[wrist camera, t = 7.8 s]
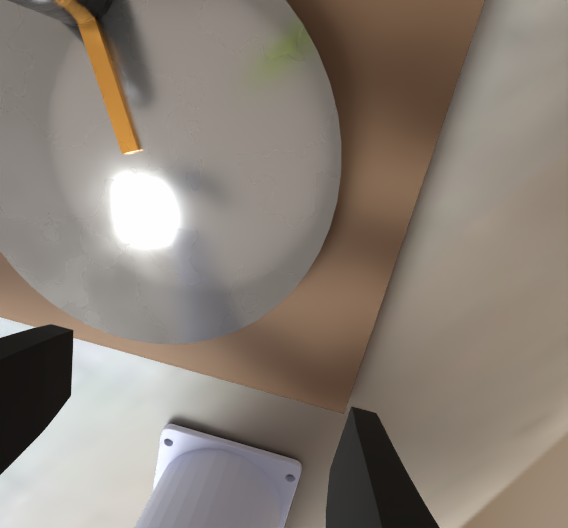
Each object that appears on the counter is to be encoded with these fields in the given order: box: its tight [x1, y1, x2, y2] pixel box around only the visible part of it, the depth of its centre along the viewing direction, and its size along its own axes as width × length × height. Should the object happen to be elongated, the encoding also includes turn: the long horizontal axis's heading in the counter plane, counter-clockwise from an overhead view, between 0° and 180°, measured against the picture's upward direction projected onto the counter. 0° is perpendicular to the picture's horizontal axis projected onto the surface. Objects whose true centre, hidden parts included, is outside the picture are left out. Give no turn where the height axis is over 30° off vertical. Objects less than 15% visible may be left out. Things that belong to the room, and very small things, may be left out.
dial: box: [0, 0, 341, 344], centre depth 14 cm, size 16×16×5 cm
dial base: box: [0, 0, 485, 414], centre depth 17 cm, size 19×22×2 cm
